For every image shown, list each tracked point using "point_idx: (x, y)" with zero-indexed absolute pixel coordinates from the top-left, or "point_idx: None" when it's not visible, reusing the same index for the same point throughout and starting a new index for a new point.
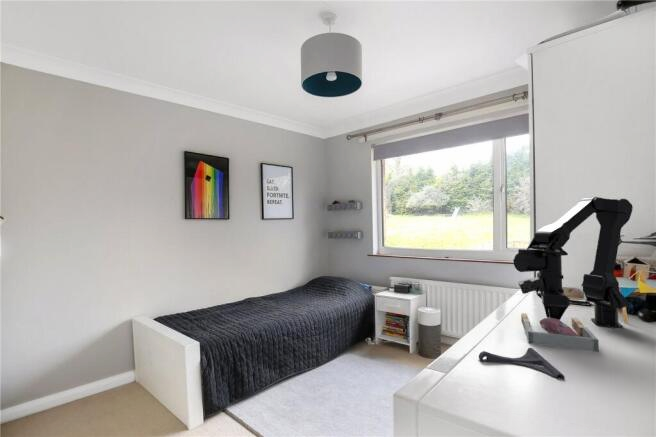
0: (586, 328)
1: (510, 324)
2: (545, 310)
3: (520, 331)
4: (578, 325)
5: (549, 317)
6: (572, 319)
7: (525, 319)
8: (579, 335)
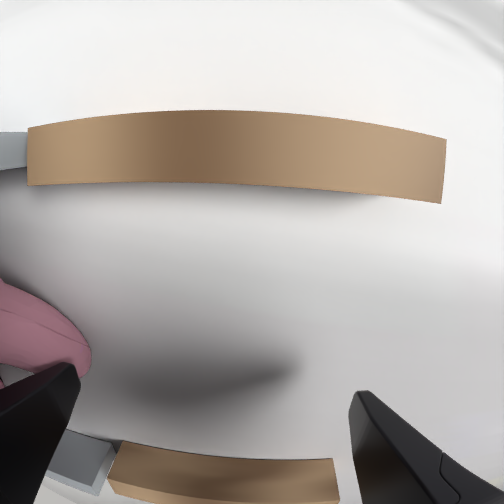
0: (71, 484)
1: (223, 17)
2: (381, 434)
3: (43, 103)
4: (147, 490)
5: (351, 406)
6: (310, 498)
7: (115, 139)
8: (129, 443)
